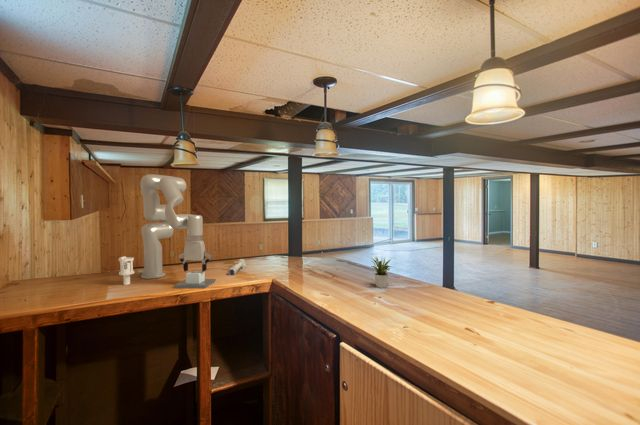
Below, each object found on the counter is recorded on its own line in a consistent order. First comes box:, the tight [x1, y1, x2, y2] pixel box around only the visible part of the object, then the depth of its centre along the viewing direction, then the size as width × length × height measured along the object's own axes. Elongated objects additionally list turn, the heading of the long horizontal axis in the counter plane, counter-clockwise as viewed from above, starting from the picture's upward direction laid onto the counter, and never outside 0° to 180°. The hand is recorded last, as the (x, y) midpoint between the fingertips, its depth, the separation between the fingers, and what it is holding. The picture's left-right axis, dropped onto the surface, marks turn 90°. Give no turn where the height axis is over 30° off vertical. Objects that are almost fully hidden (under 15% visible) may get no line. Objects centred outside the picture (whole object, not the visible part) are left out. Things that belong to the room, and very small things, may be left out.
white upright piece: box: [118, 255, 135, 286], centre depth 169 cm, size 7×7×15 cm
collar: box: [185, 270, 206, 284], centre depth 166 cm, size 7×7×5 cm
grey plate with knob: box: [173, 272, 217, 289], centre depth 166 cm, size 16×14×6 cm
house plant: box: [367, 254, 393, 289], centre depth 160 cm, size 14×14×16 cm
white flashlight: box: [227, 258, 247, 276], centre depth 202 cm, size 5×7×25 cm
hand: (195, 271), depth 166 cm, fingers open, 9 cm apart
